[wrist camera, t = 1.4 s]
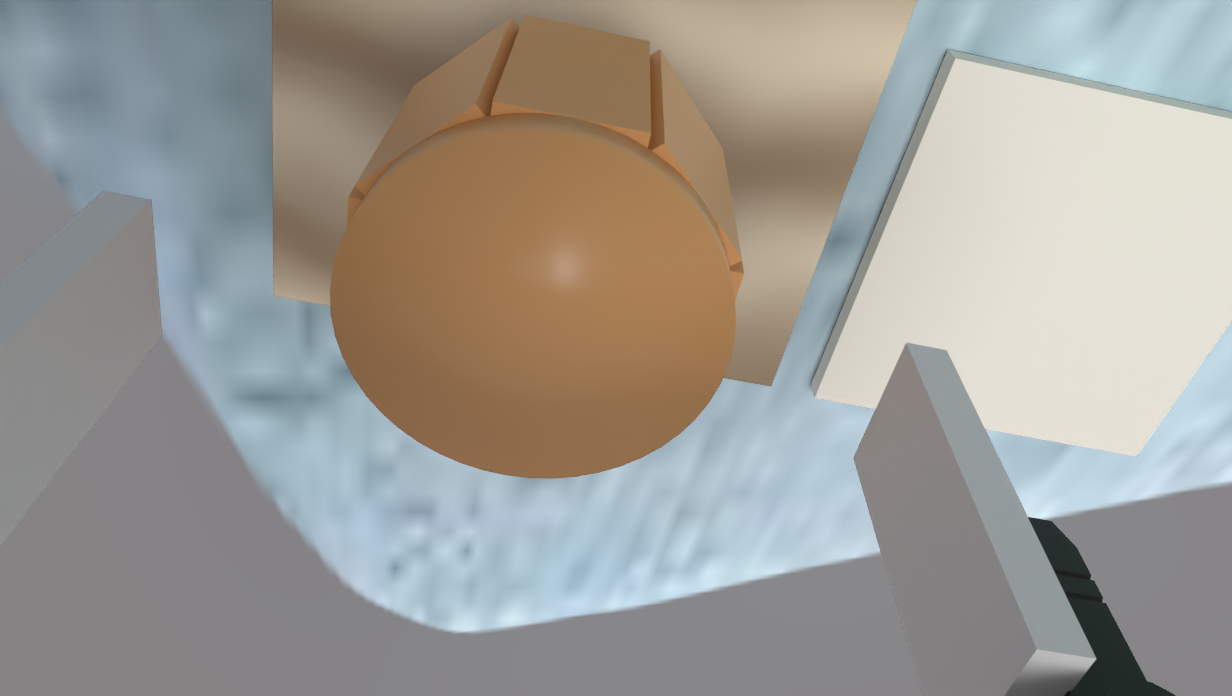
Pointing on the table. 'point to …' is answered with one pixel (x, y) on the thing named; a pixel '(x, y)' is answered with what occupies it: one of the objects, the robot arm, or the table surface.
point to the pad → (1047, 254)
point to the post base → (671, 21)
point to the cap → (541, 256)
